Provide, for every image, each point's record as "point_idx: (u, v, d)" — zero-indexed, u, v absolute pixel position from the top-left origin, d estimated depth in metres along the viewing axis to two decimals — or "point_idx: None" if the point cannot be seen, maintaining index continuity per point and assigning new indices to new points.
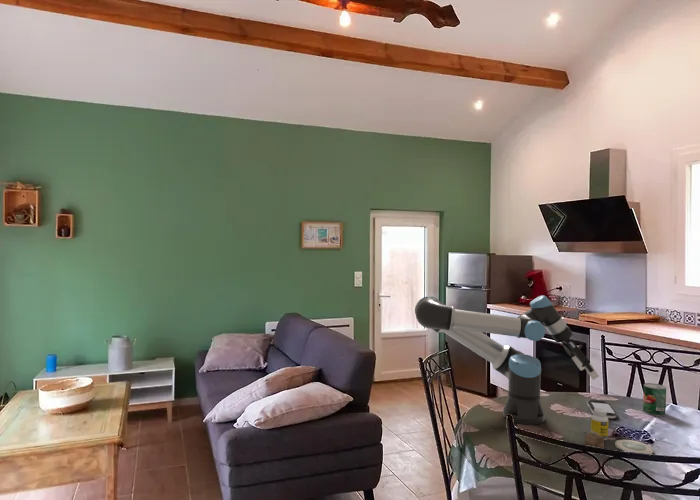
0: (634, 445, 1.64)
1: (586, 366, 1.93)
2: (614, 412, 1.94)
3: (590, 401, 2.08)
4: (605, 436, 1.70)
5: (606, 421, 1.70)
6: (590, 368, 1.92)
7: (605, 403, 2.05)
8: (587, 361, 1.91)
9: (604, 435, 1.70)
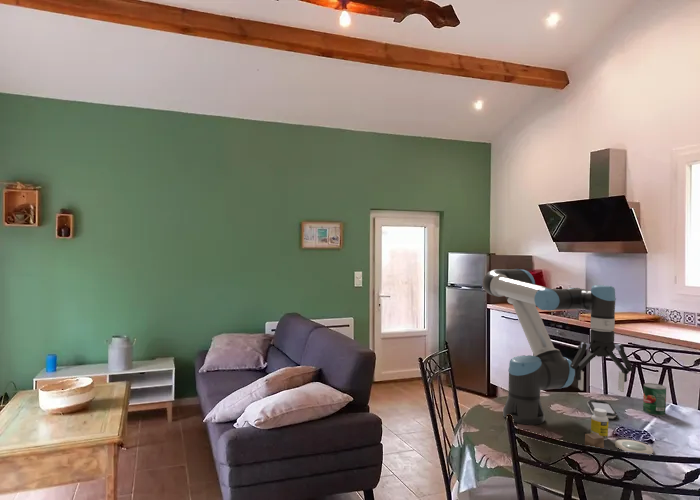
0: (634, 445, 1.64)
1: None
2: (614, 412, 1.94)
3: (590, 401, 2.08)
4: (605, 436, 1.70)
5: (606, 421, 1.70)
6: (576, 375, 1.73)
7: (605, 403, 2.05)
8: (572, 365, 1.73)
9: (604, 435, 1.70)
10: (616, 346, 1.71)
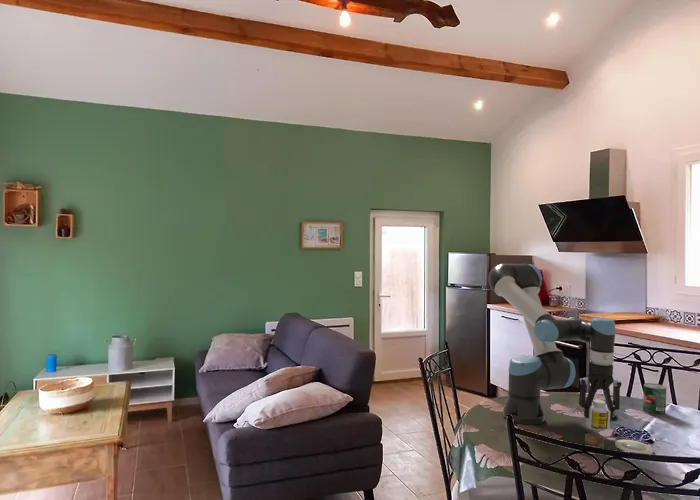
0: (634, 445, 1.64)
1: (584, 408, 1.74)
2: None
3: None
4: (603, 427, 1.71)
5: (605, 412, 1.71)
6: (584, 413, 1.73)
7: (605, 403, 2.05)
8: (581, 403, 1.73)
9: (602, 425, 1.71)
10: (614, 381, 1.71)
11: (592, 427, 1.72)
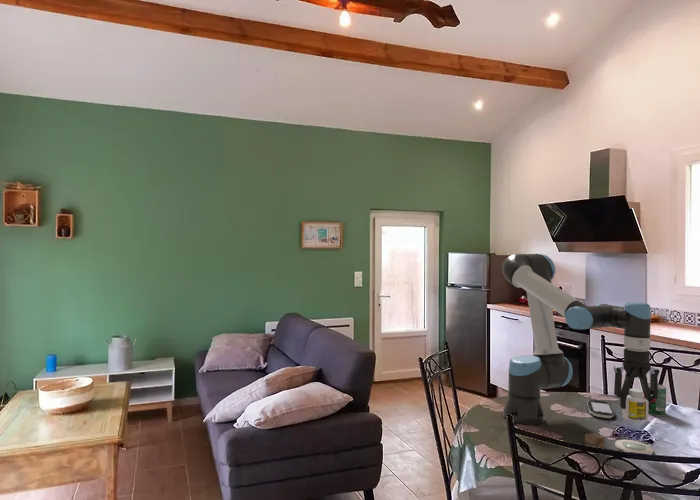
0: (634, 445, 1.64)
1: (620, 398, 1.64)
2: (612, 412, 1.94)
3: (590, 401, 2.08)
4: (642, 417, 1.61)
5: (643, 401, 1.61)
6: (621, 403, 1.64)
7: (605, 403, 2.05)
8: (616, 393, 1.63)
9: (641, 416, 1.61)
10: (651, 369, 1.62)
11: (629, 418, 1.62)
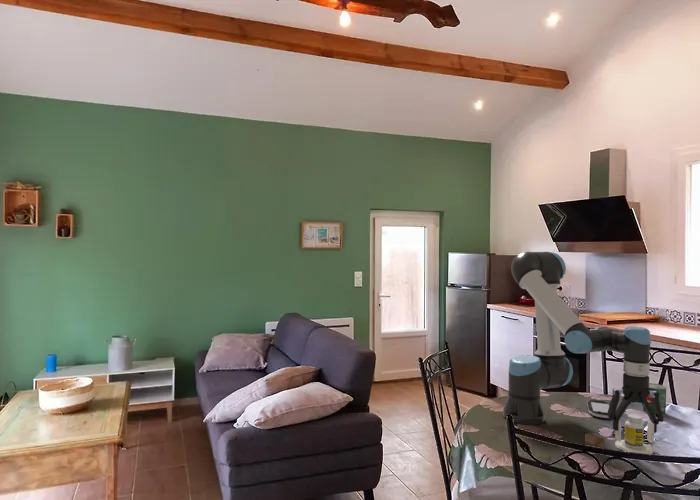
0: None
1: None
2: None
3: (590, 401, 2.08)
4: (640, 444, 1.61)
5: (641, 428, 1.61)
6: (613, 425, 1.64)
7: (605, 403, 2.05)
8: (609, 415, 1.64)
9: (639, 442, 1.61)
10: (651, 392, 1.62)
11: (628, 444, 1.63)
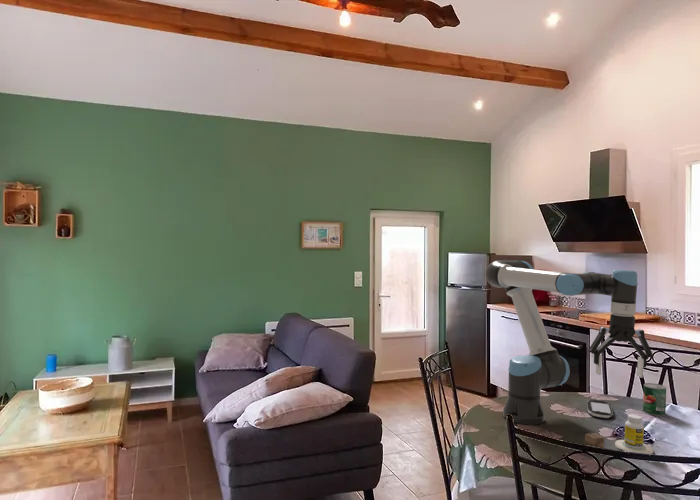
0: None
1: None
2: (610, 412, 1.94)
3: (590, 401, 2.08)
4: (640, 444, 1.61)
5: (641, 428, 1.61)
6: (594, 359, 1.72)
7: (605, 403, 2.05)
8: (590, 349, 1.72)
9: (639, 442, 1.61)
10: (636, 331, 1.70)
11: (628, 444, 1.63)
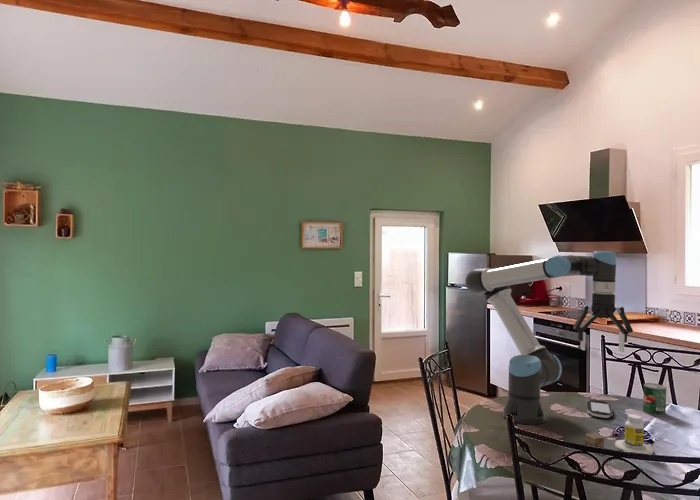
0: None
1: (578, 332, 1.83)
2: (610, 412, 1.94)
3: (590, 401, 2.08)
4: (640, 444, 1.61)
5: (641, 428, 1.61)
6: (578, 336, 1.82)
7: (605, 403, 2.05)
8: (575, 327, 1.82)
9: (639, 442, 1.61)
10: (617, 308, 1.80)
11: (628, 444, 1.63)
